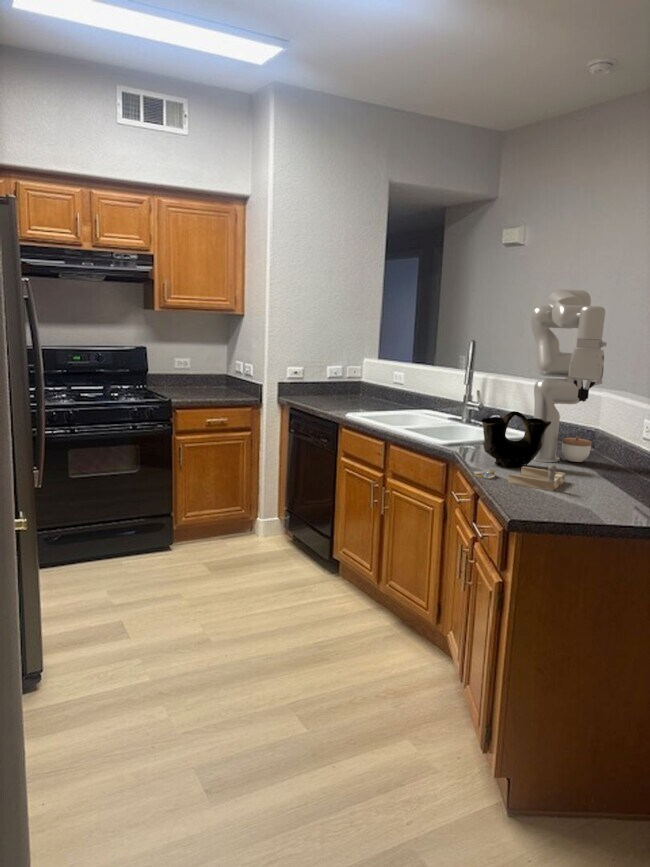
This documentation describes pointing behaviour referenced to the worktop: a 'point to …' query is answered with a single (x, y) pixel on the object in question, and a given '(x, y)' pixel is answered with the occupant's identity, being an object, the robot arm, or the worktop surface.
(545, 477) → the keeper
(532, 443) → the pottery vessel
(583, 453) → the lidded jar
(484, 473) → the ring
